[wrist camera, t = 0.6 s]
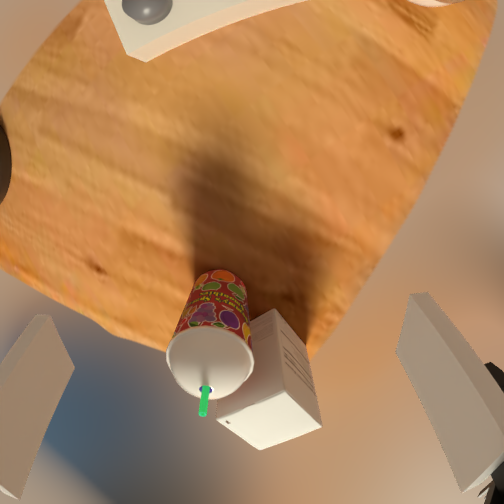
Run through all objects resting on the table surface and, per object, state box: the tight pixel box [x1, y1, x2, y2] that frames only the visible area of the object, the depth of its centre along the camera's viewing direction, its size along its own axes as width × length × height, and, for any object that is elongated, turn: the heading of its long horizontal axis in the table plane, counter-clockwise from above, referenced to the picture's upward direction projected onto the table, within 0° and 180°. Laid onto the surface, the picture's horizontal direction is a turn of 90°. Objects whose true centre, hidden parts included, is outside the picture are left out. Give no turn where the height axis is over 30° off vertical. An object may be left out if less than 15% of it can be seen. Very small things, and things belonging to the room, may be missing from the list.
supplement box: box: [216, 308, 322, 450], centre depth 39 cm, size 9×9×15 cm
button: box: [122, 0, 172, 25], centre depth 21 cm, size 4×4×3 cm
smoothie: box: [166, 269, 255, 417], centre depth 32 cm, size 8×8×20 cm
